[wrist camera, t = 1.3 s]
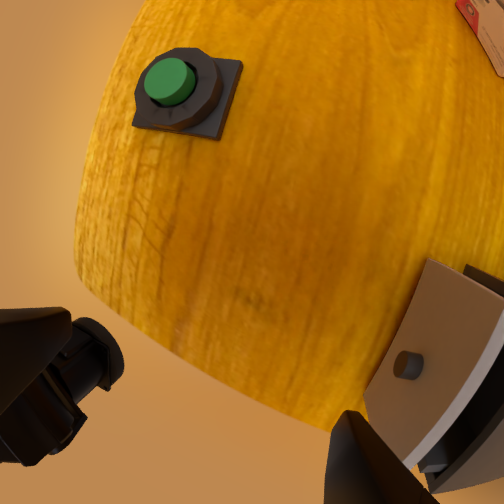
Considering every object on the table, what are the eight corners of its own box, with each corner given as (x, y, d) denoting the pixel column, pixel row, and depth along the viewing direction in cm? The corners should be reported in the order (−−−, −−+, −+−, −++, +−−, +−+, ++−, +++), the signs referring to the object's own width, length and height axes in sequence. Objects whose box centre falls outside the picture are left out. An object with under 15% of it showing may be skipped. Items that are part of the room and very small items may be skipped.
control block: (220, 141, 18) (208, 133, 15) (137, 127, 18) (118, 121, 16) (244, 65, 16) (235, 49, 14) (160, 60, 17) (145, 47, 15)
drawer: (349, 392, 18) (362, 482, 10) (413, 252, 16) (490, 295, 7) (447, 405, 17) (480, 471, 9) (508, 291, 14) (575, 332, 6)
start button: (187, 107, 15) (177, 100, 14) (149, 104, 16) (137, 97, 14) (201, 67, 15) (193, 57, 13) (163, 66, 15) (152, 57, 14)
